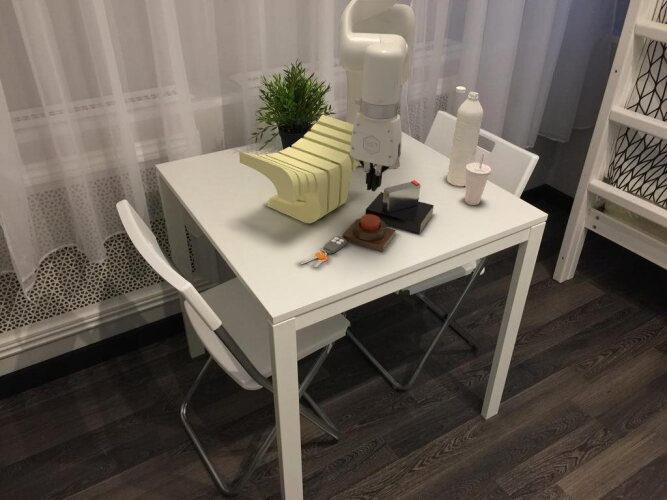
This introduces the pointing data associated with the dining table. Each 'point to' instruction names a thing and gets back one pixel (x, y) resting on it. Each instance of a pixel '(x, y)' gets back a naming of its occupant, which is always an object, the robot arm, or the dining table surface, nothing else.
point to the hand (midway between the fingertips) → (373, 187)
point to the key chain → (328, 250)
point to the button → (370, 222)
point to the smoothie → (476, 181)
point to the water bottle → (465, 138)
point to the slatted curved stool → (310, 171)
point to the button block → (369, 236)
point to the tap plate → (402, 215)
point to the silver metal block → (401, 196)
